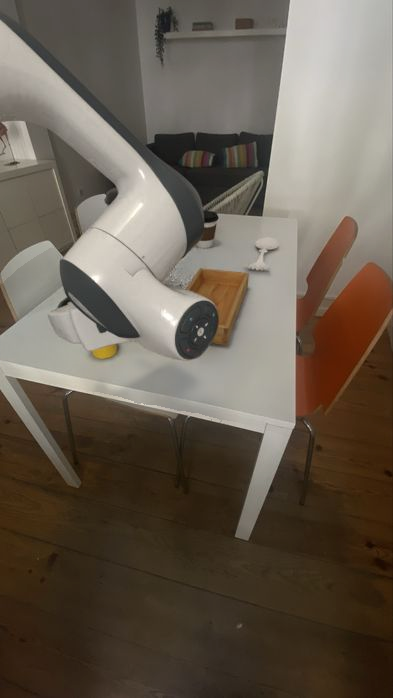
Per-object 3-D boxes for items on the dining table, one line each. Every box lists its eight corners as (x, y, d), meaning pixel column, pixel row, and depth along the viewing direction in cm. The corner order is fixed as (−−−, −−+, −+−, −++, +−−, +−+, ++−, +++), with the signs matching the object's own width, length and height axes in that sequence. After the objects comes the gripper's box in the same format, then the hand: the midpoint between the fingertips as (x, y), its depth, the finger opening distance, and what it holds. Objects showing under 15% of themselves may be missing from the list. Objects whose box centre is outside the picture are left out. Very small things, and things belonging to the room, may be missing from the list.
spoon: (242, 275, 105) (242, 265, 103) (257, 242, 129) (257, 233, 127) (269, 278, 103) (271, 268, 101) (279, 244, 127) (280, 235, 125)
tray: (200, 283, 101) (199, 266, 97) (247, 289, 97) (249, 271, 94) (166, 338, 77) (164, 319, 74) (227, 348, 74) (228, 328, 70)
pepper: (93, 361, 71) (84, 327, 66) (92, 346, 76) (82, 313, 70) (118, 355, 73) (111, 322, 67) (115, 342, 77) (108, 309, 71)
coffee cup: (219, 241, 131) (219, 210, 123) (216, 251, 122) (217, 218, 115) (192, 240, 132) (191, 210, 125) (188, 250, 123) (187, 218, 116)
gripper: (184, 266, 50) (141, 261, 61) (59, 314, 41) (33, 299, 51) (192, 303, 53) (150, 293, 64) (77, 357, 43) (49, 334, 54)
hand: (97, 296), depth 57 cm, fingers open, 8 cm apart
